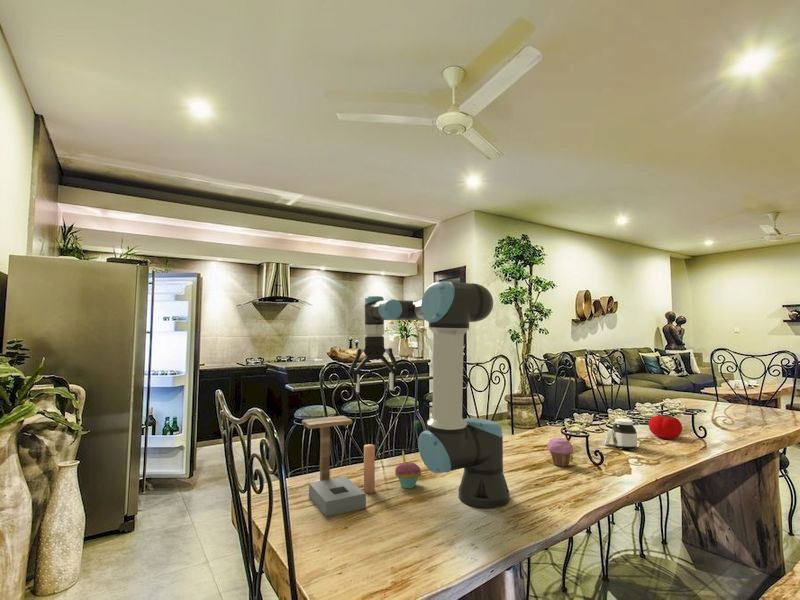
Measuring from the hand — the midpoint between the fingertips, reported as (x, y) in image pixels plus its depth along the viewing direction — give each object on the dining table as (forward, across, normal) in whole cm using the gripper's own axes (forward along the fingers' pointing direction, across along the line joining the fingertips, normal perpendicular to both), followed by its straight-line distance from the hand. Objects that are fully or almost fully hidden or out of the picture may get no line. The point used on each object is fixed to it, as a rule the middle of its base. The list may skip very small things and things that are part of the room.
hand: (374, 391), depth 161 cm
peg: (+27, +9, +26) cm, 39 cm away
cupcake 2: (+28, -65, +25) cm, 75 cm away
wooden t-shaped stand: (+27, +22, +22) cm, 41 cm away
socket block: (+27, +20, +31) cm, 46 cm away
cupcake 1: (+28, -4, +26) cm, 38 cm away
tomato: (+28, -138, +10) cm, 141 cm away
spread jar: (+28, -105, +14) cm, 109 cm away
